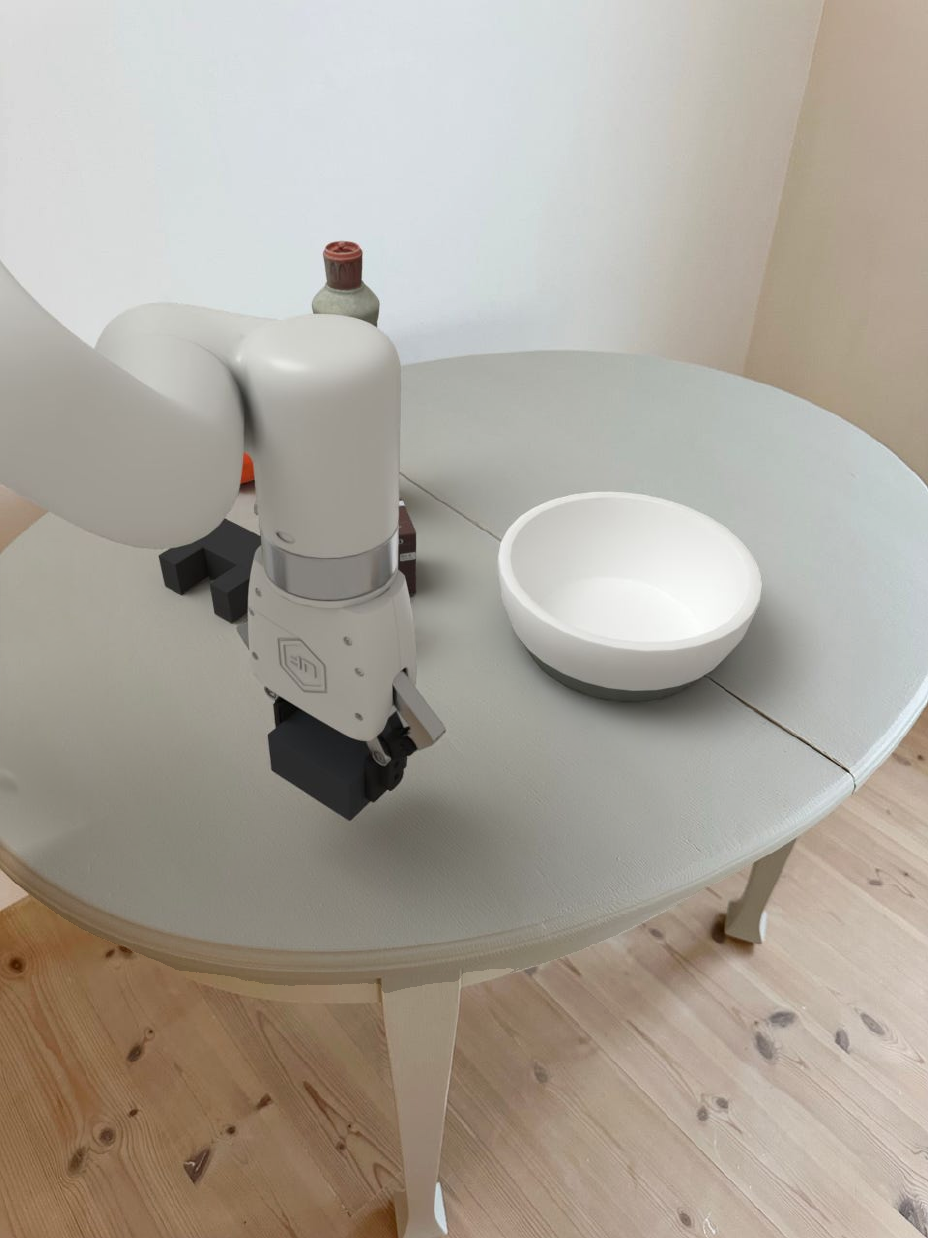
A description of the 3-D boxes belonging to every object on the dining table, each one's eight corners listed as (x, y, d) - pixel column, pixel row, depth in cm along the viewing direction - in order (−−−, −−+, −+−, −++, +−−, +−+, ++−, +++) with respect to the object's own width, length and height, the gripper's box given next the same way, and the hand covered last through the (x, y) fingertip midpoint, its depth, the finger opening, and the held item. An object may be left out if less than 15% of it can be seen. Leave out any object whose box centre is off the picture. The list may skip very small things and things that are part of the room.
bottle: (297, 522, 99) (271, 248, 81) (334, 478, 105) (318, 216, 87) (375, 540, 97) (366, 263, 79) (407, 494, 104) (406, 229, 85)
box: (353, 605, 89) (350, 541, 84) (342, 566, 93) (338, 503, 89) (417, 595, 90) (417, 532, 86) (403, 558, 95) (403, 496, 90)
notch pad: (232, 623, 86) (227, 592, 84) (164, 585, 90) (157, 555, 88) (293, 580, 91) (290, 550, 89) (226, 546, 95) (222, 516, 93)
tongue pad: (350, 822, 62) (348, 786, 59) (270, 770, 64) (266, 734, 62) (428, 745, 67) (430, 709, 65) (352, 701, 70) (351, 665, 68)
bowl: (660, 543, 98) (675, 473, 93) (792, 689, 83) (819, 615, 77) (456, 586, 92) (459, 514, 86) (557, 754, 76) (568, 678, 70)
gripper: (170, 517, 54) (206, 733, 66) (413, 647, 47) (406, 863, 58) (264, 465, 59) (283, 674, 70) (498, 575, 52) (476, 788, 63)
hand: (339, 758), depth 64 cm, fingers closed on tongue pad, 7 cm apart
